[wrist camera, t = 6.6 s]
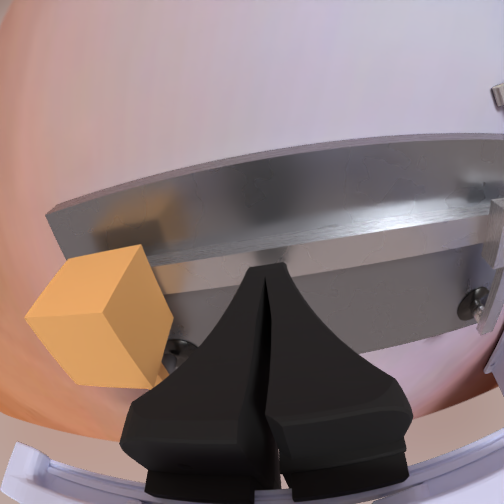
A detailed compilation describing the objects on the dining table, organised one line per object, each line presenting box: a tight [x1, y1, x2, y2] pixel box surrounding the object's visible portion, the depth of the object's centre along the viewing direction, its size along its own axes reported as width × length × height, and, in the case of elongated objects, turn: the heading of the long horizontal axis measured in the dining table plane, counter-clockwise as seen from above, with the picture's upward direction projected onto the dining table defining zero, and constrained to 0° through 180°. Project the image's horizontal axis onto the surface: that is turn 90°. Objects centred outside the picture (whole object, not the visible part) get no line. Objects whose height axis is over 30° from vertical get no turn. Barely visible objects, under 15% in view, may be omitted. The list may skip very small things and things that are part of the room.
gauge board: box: [45, 133, 504, 370], centre depth 14 cm, size 12×24×3 cm, turn 101°
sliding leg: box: [24, 244, 177, 390], centre depth 13 cm, size 8×4×5 cm, turn 11°
